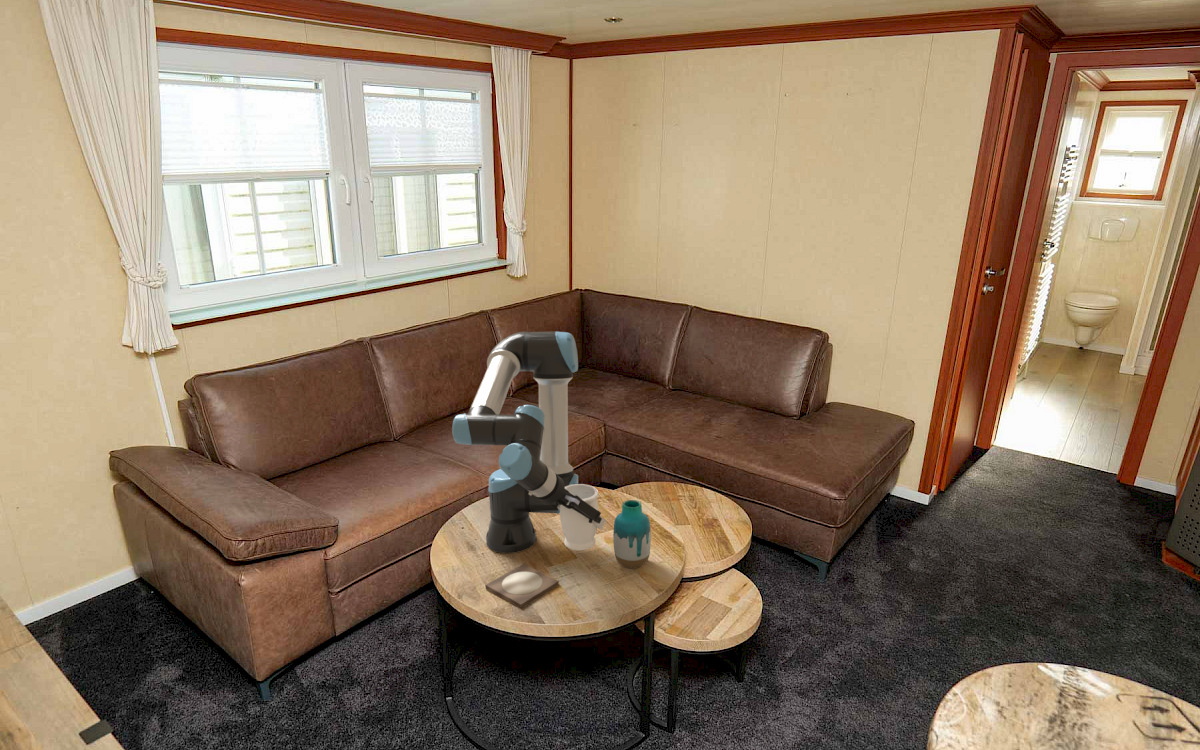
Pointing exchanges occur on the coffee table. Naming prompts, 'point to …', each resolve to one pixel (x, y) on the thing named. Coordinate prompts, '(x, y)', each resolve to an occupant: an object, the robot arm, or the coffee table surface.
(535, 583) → the walnut board
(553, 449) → the robot arm
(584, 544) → the jar
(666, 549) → the coffee table surface
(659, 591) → the coffee table surface
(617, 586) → the coffee table surface
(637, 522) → the vase
